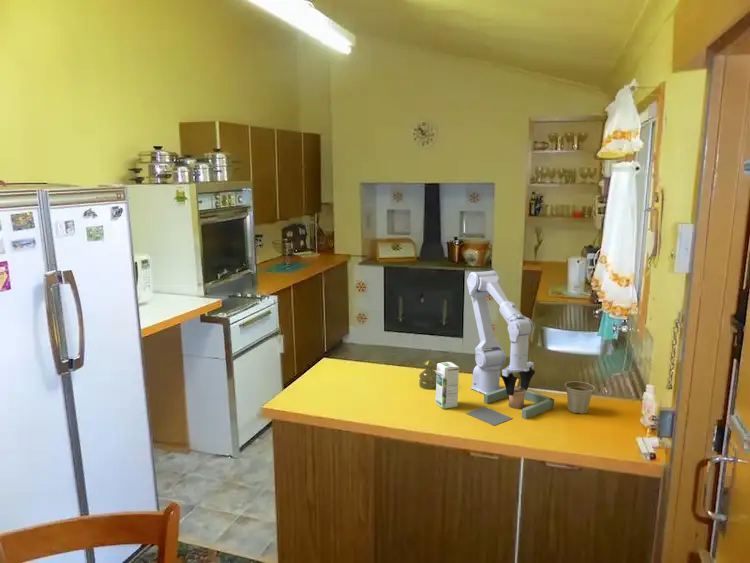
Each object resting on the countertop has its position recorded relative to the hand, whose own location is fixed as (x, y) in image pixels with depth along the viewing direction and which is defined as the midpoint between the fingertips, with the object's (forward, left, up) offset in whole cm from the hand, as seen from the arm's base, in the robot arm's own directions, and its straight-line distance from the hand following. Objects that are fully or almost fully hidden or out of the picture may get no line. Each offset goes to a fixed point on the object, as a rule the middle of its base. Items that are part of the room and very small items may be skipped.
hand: (517, 392), depth 192 cm
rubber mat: (0, -14, -5) cm, 15 cm away
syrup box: (-15, -18, -5) cm, 24 cm away
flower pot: (+15, +14, -5) cm, 21 cm away
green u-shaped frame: (0, +1, -5) cm, 5 cm away
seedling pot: (0, 0, -5) cm, 5 cm away
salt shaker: (-32, -10, -5) cm, 34 cm away
